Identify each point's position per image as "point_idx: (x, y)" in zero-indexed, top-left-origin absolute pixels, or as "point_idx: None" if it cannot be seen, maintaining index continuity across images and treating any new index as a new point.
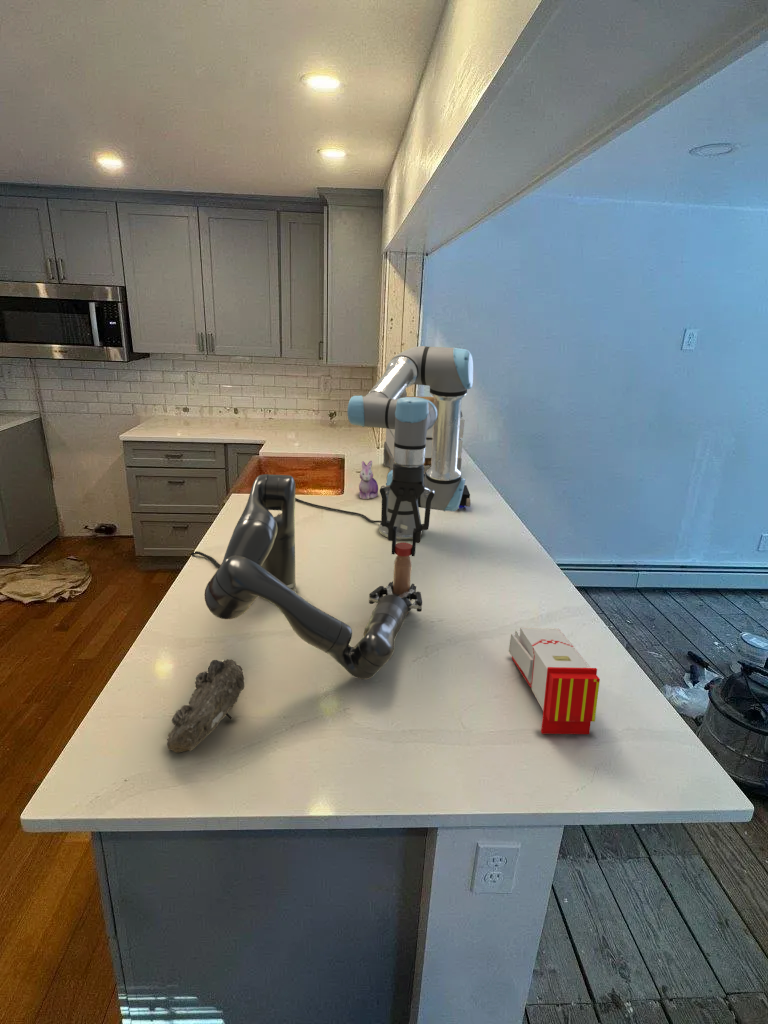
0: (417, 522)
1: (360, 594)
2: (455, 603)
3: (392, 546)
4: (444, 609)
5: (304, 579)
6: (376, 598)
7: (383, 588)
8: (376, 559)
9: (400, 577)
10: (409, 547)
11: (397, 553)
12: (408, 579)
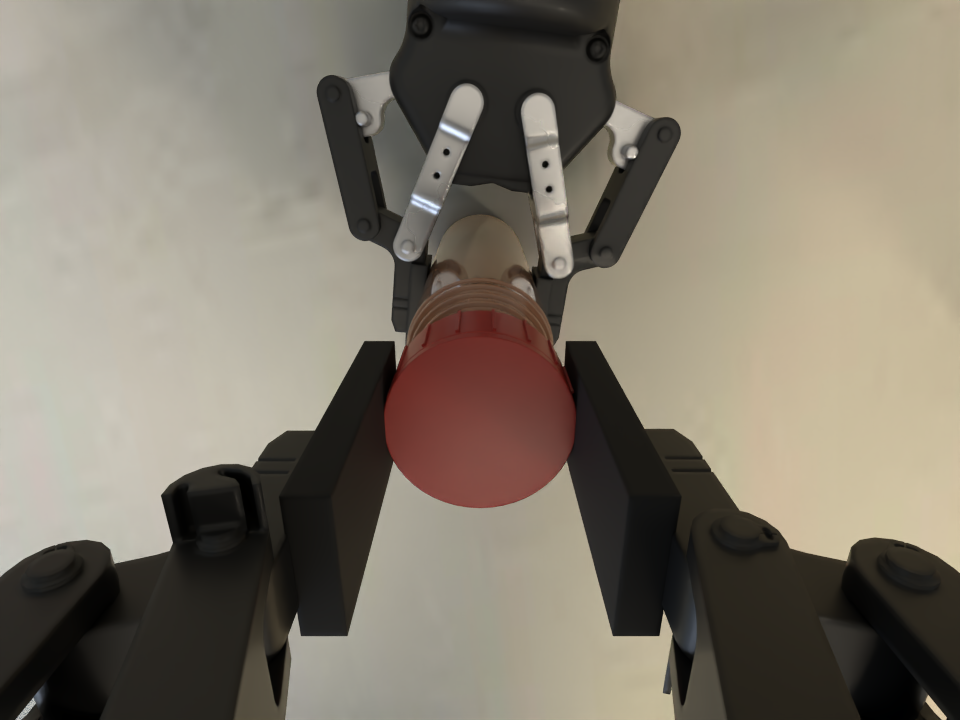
0: (179, 656)
1: (681, 378)
2: (234, 384)
3: (607, 376)
4: (273, 320)
5: (949, 460)
6: (626, 119)
7: (590, 247)
8: (625, 672)
9: (486, 257)
10: (413, 398)
11: (537, 333)
12: (430, 278)
